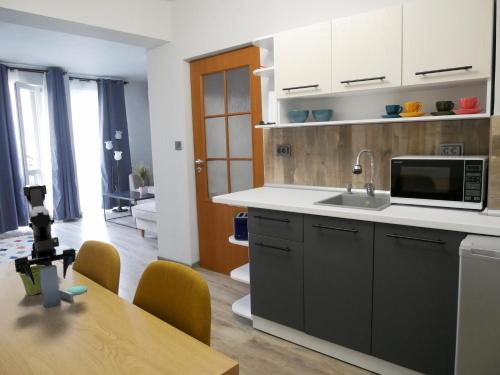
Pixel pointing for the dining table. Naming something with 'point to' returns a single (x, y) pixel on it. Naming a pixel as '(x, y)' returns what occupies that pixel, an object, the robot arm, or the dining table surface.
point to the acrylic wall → (66, 295)
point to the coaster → (77, 290)
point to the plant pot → (28, 284)
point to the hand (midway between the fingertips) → (49, 281)
